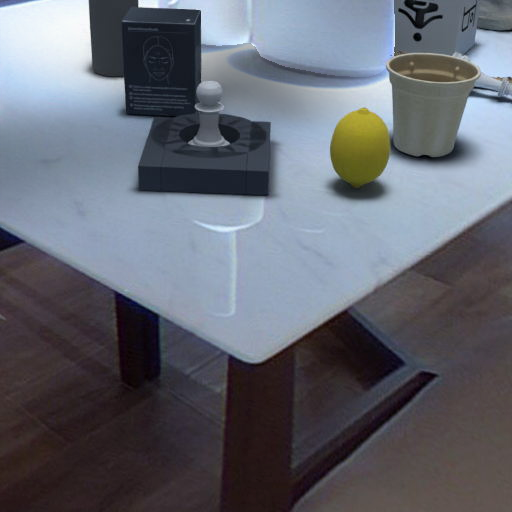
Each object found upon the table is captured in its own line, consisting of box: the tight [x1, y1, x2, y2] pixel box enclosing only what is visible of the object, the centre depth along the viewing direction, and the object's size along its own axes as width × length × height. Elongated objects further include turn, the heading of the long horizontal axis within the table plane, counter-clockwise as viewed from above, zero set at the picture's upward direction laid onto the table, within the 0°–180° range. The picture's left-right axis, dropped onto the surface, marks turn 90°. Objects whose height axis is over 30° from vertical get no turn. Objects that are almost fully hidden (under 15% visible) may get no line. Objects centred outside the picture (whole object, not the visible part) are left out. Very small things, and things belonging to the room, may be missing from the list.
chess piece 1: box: [188, 80, 230, 147], centre depth 94 cm, size 5×5×8 cm
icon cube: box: [394, 0, 481, 56], centre depth 126 cm, size 10×10×10 cm
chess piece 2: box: [453, 52, 512, 98], centre depth 113 cm, size 4×4×10 cm
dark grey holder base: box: [137, 112, 272, 196], centre depth 94 cm, size 12×14×2 cm
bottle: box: [88, 0, 140, 77], centre depth 114 cm, size 6×6×15 cm
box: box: [122, 6, 202, 117], centre depth 105 cm, size 8×6×11 cm
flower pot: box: [385, 53, 482, 158], centre depth 98 cm, size 9×9×9 cm
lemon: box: [329, 107, 391, 189], centre depth 89 cm, size 6×6×8 cm
